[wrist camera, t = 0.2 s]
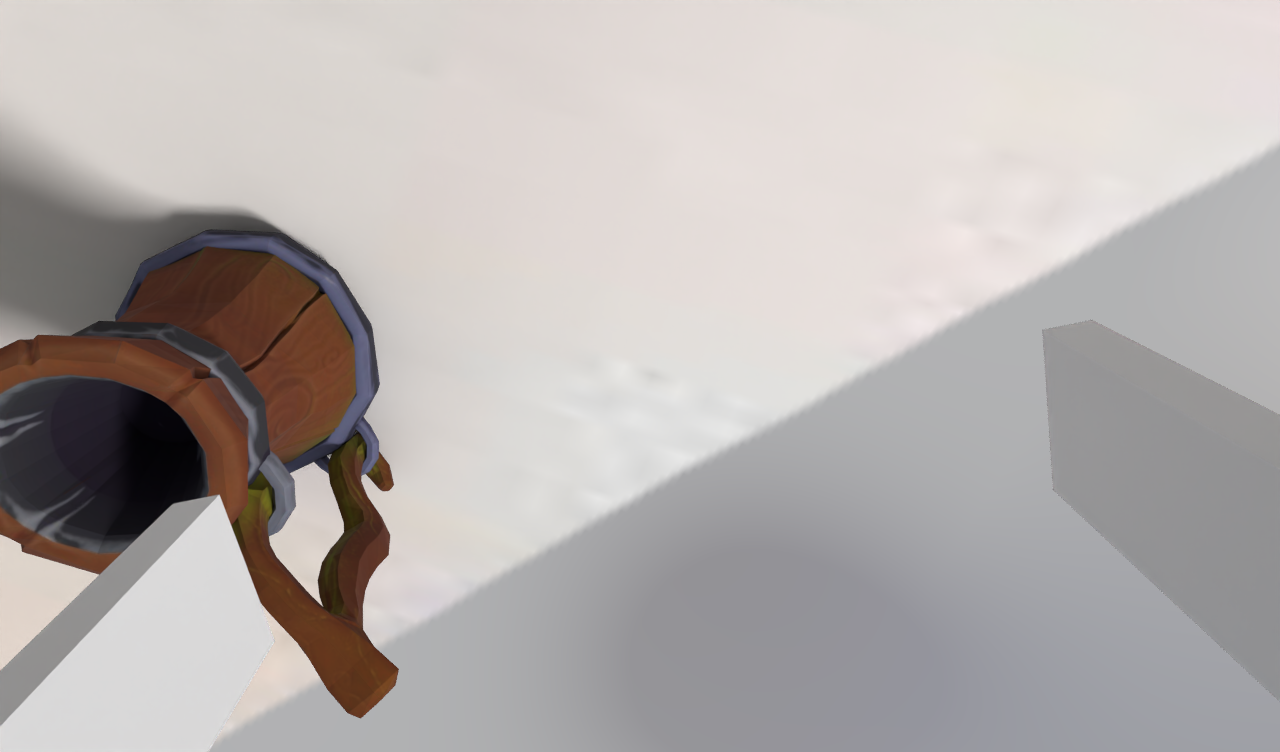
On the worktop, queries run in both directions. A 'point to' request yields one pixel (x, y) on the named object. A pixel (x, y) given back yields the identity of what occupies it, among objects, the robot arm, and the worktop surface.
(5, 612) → the worktop surface
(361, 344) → the mug
